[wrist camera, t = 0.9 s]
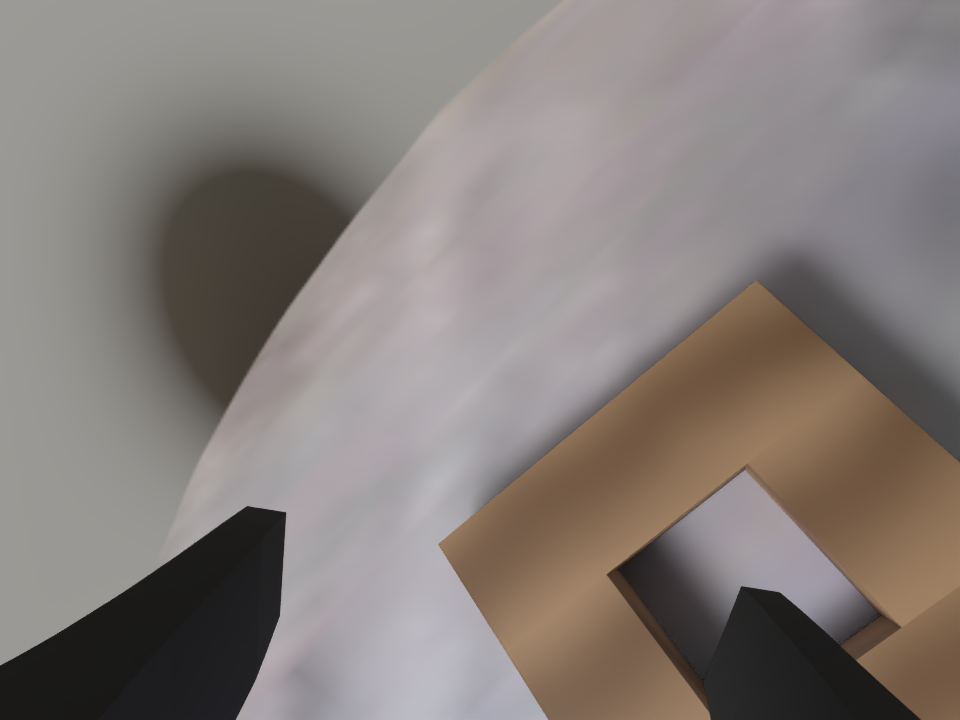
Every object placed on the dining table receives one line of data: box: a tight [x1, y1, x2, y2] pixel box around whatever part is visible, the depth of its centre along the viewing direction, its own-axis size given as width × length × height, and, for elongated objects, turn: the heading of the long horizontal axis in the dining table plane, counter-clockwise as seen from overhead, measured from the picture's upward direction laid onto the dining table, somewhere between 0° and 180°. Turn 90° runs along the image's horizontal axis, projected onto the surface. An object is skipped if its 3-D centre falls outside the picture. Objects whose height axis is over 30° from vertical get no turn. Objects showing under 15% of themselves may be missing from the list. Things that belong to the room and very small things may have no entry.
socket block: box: [438, 281, 960, 720], centre depth 19 cm, size 14×14×2 cm
